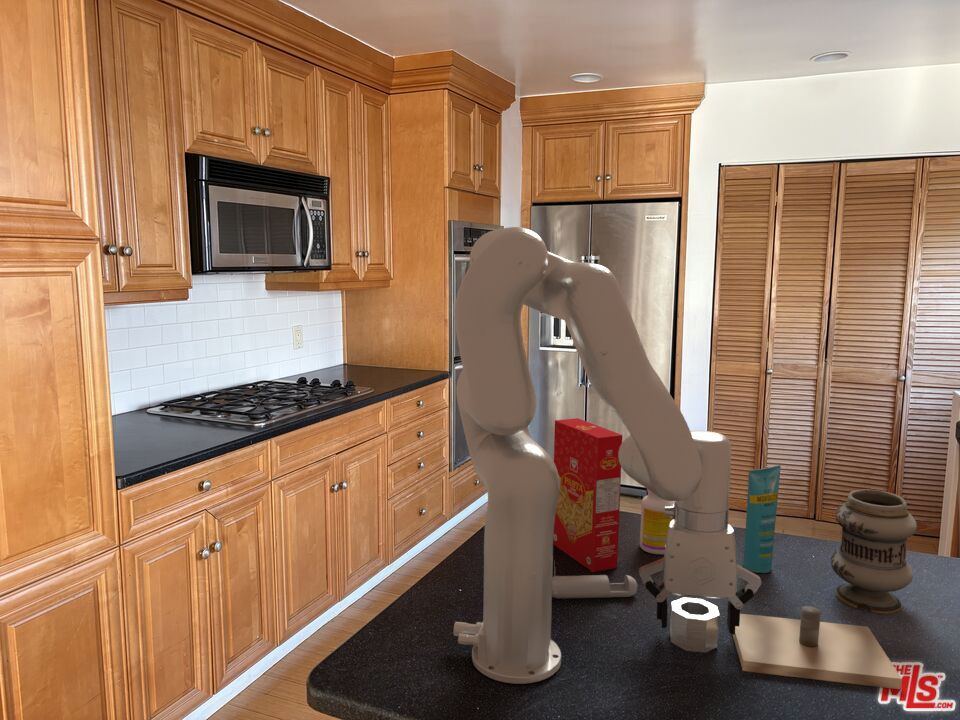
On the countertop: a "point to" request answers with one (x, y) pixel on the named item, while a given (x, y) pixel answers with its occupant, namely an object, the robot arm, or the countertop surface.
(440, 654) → the countertop surface
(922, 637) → the countertop surface
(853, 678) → the base
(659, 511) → the supplement bottle
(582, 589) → the torpedo
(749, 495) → the tube
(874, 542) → the apothecary jar
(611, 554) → the food packaging
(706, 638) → the steel hub
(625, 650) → the countertop surface
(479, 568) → the countertop surface
